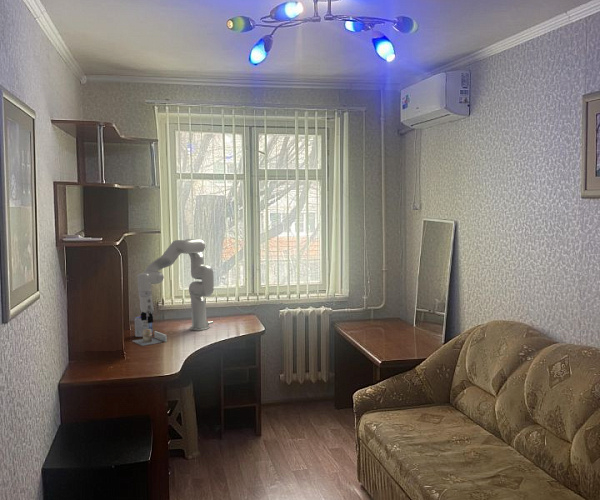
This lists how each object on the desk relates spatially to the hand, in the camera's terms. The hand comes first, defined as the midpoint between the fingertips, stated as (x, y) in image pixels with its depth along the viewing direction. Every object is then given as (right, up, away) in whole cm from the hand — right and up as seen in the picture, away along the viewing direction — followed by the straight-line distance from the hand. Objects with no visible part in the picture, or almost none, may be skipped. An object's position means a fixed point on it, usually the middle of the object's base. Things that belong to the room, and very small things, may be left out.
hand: (147, 321), depth 358 cm
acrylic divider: (+7, -12, +6) cm, 15 cm away
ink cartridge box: (-6, -12, +17) cm, 22 cm away
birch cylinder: (0, -12, +1) cm, 12 cm away
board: (0, -13, +1) cm, 13 cm away
